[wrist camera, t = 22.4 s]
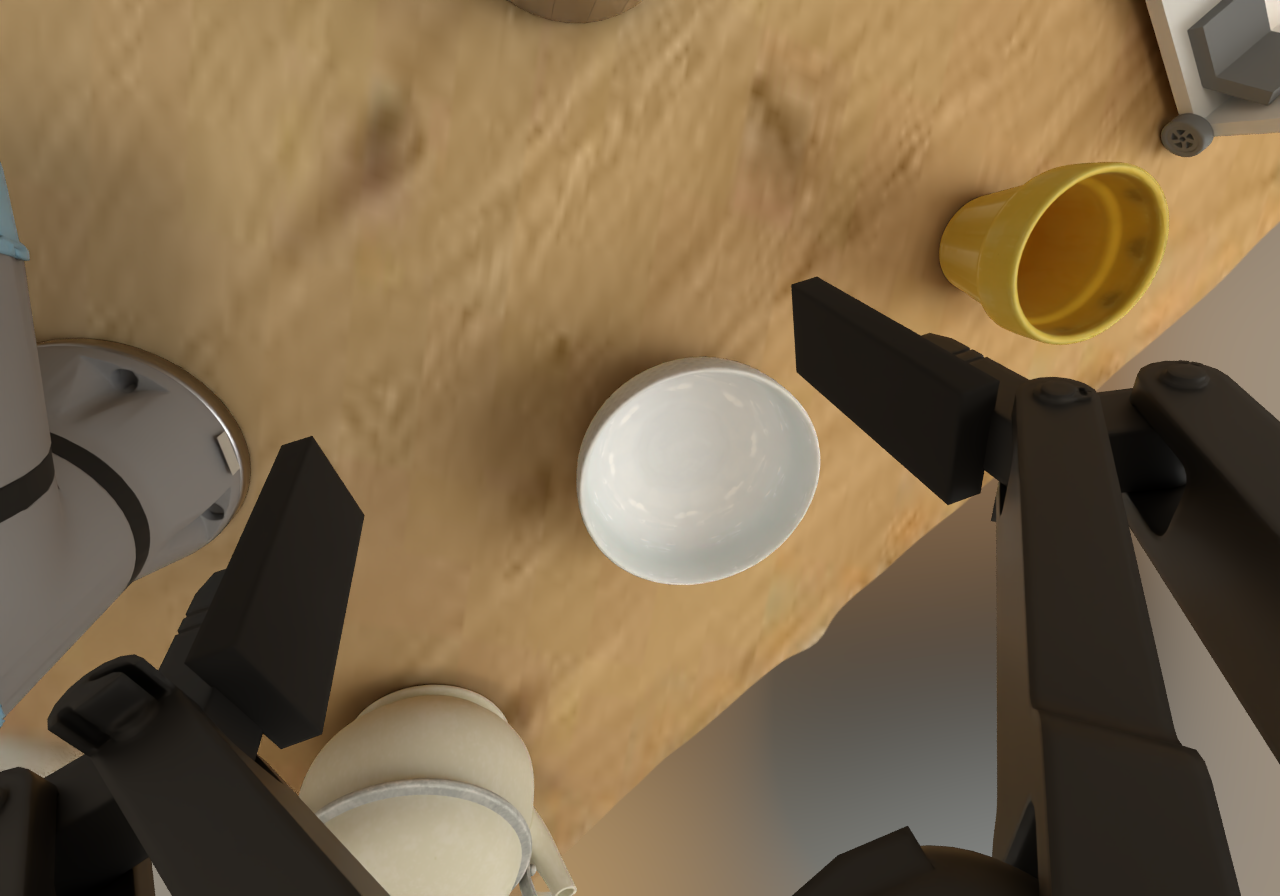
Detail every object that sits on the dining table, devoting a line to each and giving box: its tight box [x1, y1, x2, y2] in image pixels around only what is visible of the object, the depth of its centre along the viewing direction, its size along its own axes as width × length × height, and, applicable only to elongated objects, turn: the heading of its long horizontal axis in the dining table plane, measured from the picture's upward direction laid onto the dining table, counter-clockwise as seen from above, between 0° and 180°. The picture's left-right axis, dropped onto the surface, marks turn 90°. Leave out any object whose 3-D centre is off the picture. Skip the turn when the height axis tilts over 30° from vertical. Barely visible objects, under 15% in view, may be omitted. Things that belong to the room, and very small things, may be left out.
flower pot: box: [939, 162, 1169, 345], centre depth 39 cm, size 10×10×10 cm
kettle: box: [299, 685, 577, 896], centre depth 43 cm, size 25×18×25 cm
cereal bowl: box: [576, 357, 820, 585], centre depth 43 cm, size 17×17×7 cm
